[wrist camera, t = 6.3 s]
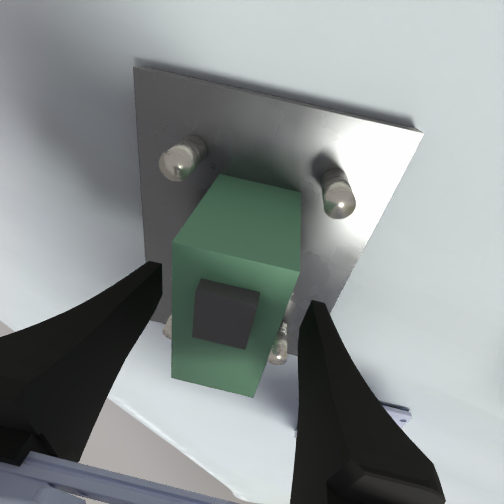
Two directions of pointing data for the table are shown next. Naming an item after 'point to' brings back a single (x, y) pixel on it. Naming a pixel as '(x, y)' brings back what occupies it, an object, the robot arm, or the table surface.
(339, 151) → the plate
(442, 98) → the table surface
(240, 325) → the circuit block
